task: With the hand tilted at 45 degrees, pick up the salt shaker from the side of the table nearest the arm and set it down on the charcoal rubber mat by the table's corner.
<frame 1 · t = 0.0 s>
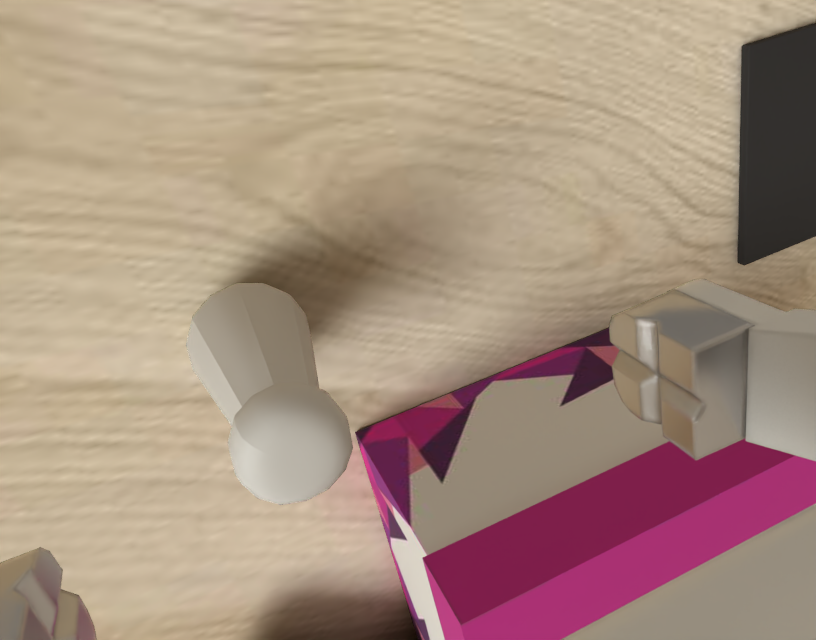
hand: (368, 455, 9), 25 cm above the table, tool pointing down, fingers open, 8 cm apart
decorative box: (511, 485, 45), on the table
salt shaker: (242, 321, 34), on the table
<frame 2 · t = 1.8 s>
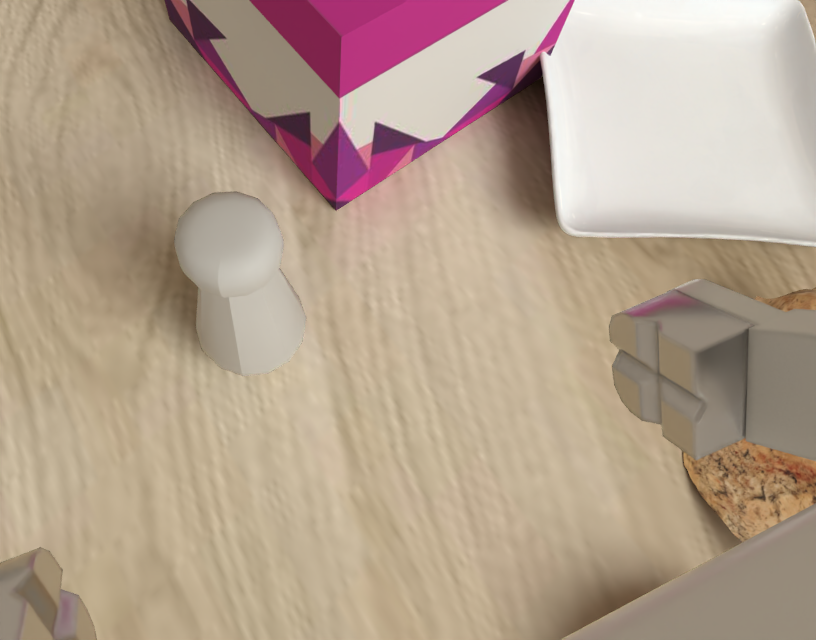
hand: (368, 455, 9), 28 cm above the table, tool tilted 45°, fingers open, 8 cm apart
tan hollow lump: (784, 457, 40), on the table
plate: (670, 132, 48), on the table
decorative box: (359, 52, 47), on the table
salt shaker: (256, 339, 38), on the table
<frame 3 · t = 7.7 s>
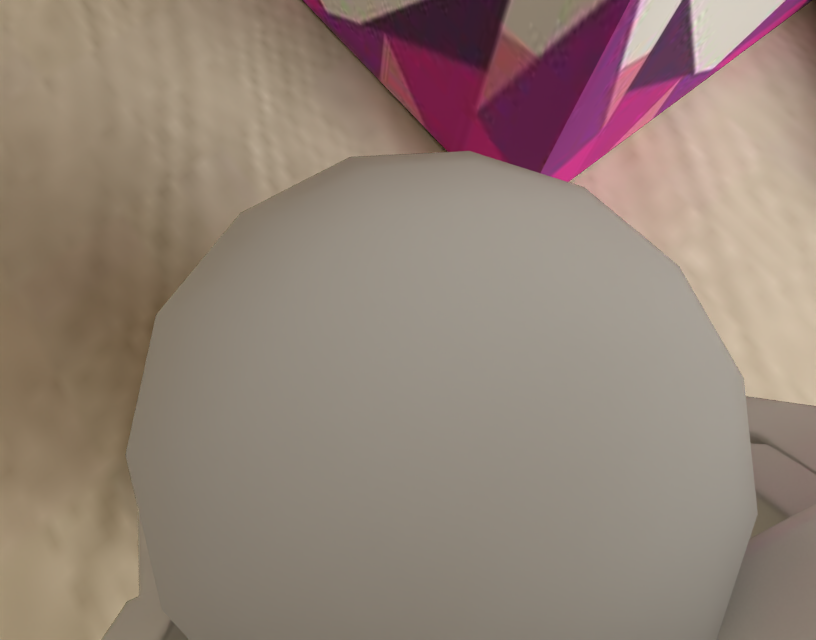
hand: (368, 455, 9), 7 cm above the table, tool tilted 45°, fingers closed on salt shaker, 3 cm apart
salt shaker: (362, 532, 16), on the table, touching gripper
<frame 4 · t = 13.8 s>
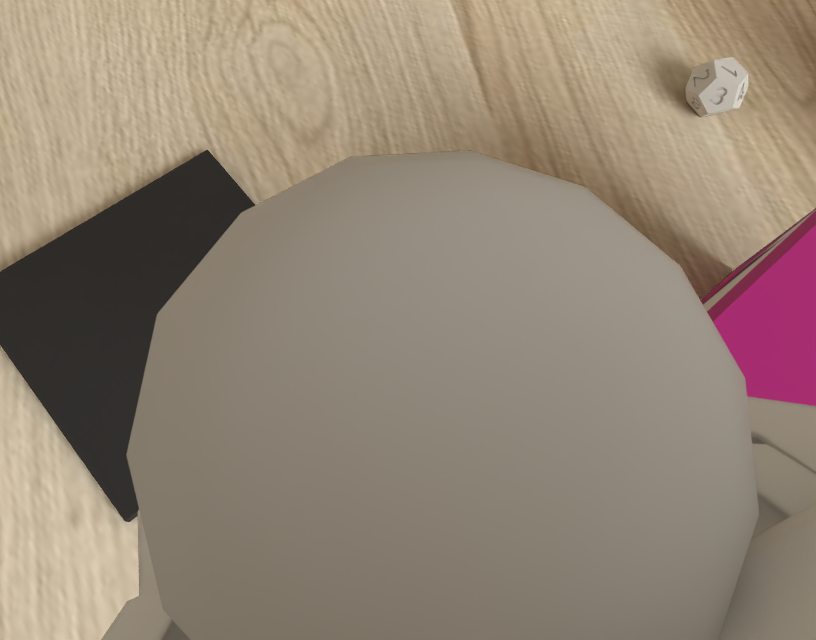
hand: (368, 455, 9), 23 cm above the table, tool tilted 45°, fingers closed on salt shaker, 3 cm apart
decorative box: (757, 502, 34), on the table
corner mat: (173, 319, 34), on the table
salt shaker: (362, 532, 16), point 16 cm above the table, touching gripper
game die: (702, 105, 43), on the table
when the fingers open (8 cm above the table, at t = 20.0 s): salt shaker stays where it is, resting on corner mat.
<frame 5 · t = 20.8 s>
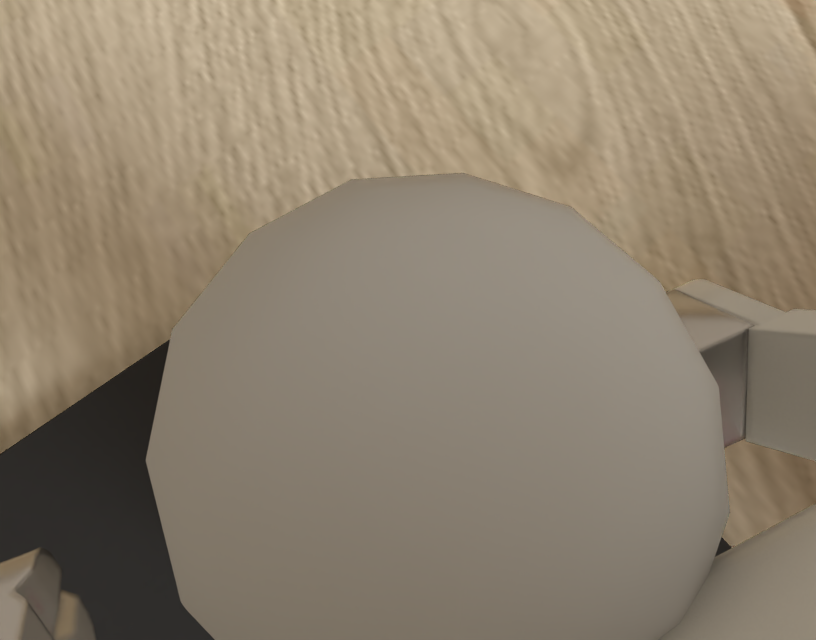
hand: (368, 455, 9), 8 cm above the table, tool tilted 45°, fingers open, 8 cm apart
corner mat: (361, 532, 17), on the table
salt shaker: (363, 530, 16), resting on corner mat
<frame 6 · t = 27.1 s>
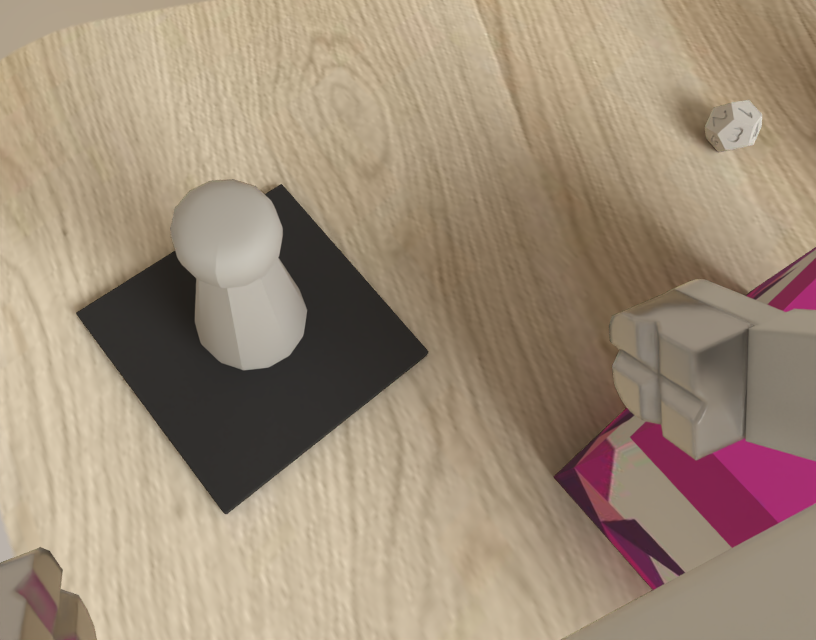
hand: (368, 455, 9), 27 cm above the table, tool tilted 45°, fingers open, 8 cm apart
decorative box: (772, 499, 38), on the table
corner mat: (256, 336, 38), on the table
salt shaker: (256, 333, 38), resting on corner mat
game die: (719, 141, 47), on the table
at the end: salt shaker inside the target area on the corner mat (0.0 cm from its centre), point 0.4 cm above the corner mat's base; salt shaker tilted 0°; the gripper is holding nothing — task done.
